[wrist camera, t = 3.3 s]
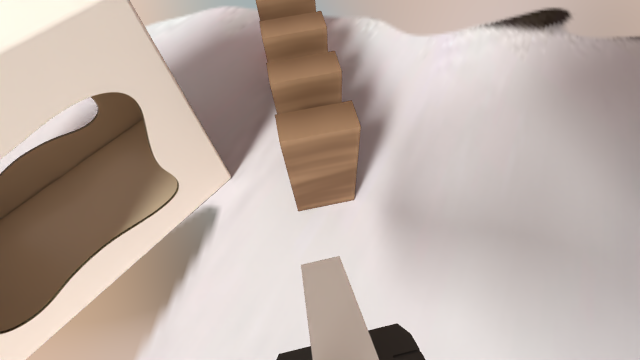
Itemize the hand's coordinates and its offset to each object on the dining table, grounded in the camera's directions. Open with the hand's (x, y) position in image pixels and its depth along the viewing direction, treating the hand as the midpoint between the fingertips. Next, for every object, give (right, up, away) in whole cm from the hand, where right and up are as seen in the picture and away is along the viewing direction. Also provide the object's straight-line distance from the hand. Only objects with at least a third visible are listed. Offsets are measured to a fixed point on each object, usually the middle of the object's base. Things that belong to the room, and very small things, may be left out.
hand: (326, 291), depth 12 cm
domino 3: (-2, +11, +21) cm, 24 cm away
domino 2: (-1, +7, +18) cm, 20 cm away
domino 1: (0, +3, +16) cm, 16 cm away
